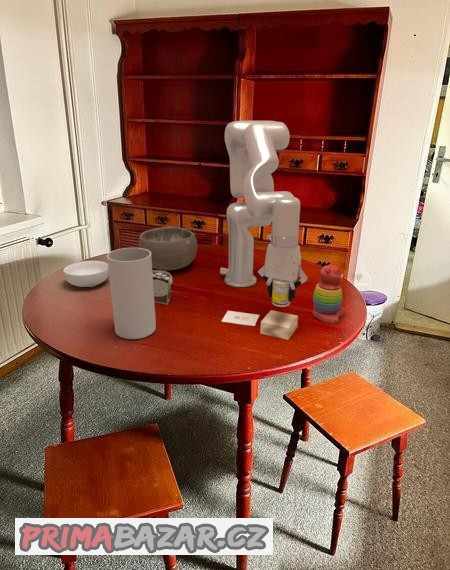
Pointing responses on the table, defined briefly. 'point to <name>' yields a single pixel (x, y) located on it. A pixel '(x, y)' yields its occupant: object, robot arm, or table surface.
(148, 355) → the table surface
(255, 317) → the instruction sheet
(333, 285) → the stacking bear
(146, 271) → the cylinder vase
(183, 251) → the bowl
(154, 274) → the food container
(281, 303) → the supplement bottle
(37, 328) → the table surface
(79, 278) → the cereal bowl
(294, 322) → the pedestal
